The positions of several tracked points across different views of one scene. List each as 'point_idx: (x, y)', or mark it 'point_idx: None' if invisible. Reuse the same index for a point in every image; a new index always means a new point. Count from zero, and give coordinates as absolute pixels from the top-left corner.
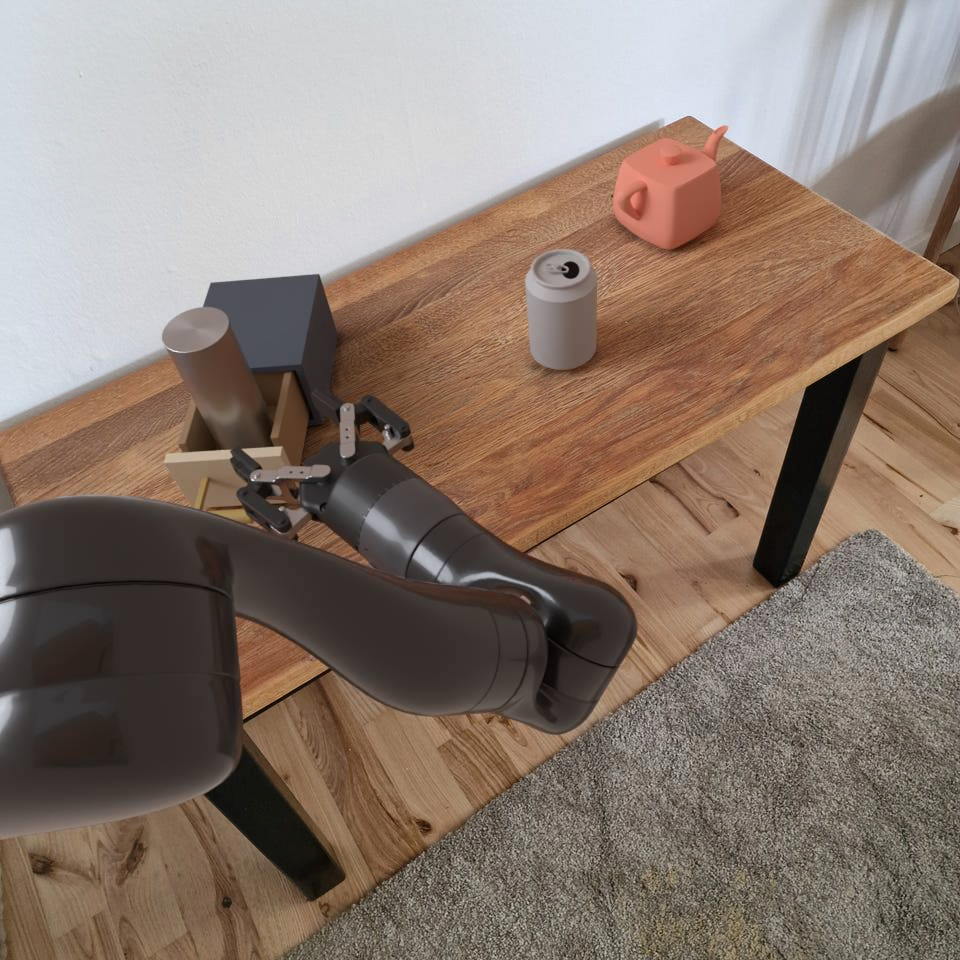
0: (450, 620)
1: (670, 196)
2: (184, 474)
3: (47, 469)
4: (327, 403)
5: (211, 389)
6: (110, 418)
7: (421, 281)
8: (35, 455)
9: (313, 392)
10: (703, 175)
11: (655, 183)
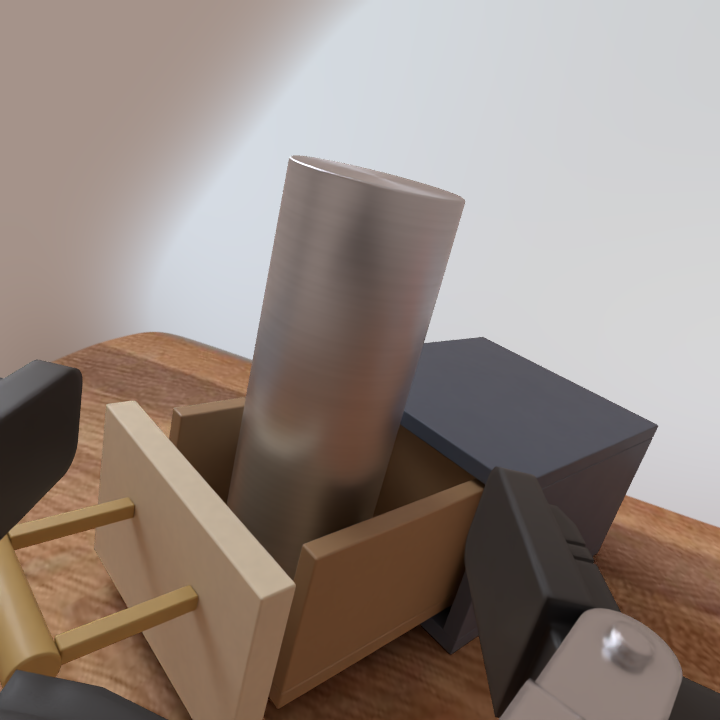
0: None
1: None
2: (115, 461)
3: (105, 371)
4: (533, 540)
5: (288, 314)
6: (227, 390)
7: None
8: (123, 356)
9: (509, 470)
10: None
11: None
